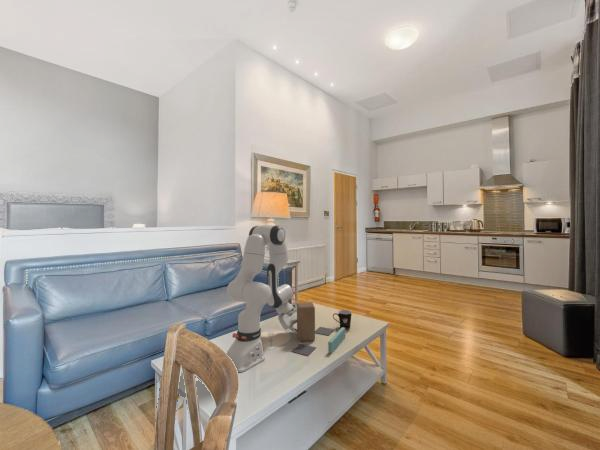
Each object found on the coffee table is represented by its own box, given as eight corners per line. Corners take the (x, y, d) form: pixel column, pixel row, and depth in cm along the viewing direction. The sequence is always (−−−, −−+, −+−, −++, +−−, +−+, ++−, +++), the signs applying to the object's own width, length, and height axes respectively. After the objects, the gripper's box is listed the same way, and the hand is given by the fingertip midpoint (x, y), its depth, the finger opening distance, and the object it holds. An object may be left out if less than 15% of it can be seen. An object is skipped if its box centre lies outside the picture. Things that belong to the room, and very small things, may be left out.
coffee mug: (353, 326, 182) (353, 311, 182) (348, 330, 175) (348, 315, 175) (338, 322, 189) (337, 308, 189) (332, 326, 182) (332, 311, 182)
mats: (308, 356, 143) (308, 355, 143) (291, 351, 147) (291, 351, 147) (334, 330, 176) (334, 329, 176) (320, 327, 181) (320, 326, 181)
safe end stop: (331, 353, 145) (331, 342, 145) (328, 352, 146) (328, 341, 146) (345, 337, 165) (345, 327, 164) (342, 337, 165) (342, 327, 165)
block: (315, 341, 160) (315, 306, 160) (298, 341, 160) (297, 307, 159) (313, 334, 170) (312, 301, 170) (296, 334, 170) (296, 302, 169)
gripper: (280, 313, 161) (294, 332, 156) (296, 303, 179) (310, 321, 174) (273, 319, 163) (288, 339, 158) (290, 309, 181) (304, 326, 177)
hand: (300, 329), depth 167 cm, fingers open, 8 cm apart
